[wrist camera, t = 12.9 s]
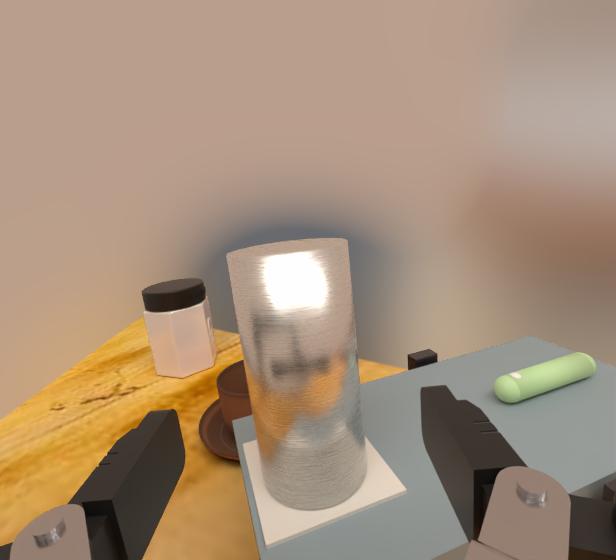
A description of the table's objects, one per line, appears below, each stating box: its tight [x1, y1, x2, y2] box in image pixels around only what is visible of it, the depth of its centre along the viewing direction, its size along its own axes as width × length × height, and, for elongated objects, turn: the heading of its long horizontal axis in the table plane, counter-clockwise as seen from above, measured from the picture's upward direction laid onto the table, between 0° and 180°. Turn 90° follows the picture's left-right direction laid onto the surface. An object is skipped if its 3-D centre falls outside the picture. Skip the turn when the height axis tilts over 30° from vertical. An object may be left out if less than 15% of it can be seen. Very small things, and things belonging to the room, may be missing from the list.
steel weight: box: [227, 238, 367, 510], centre depth 16 cm, size 5×5×11 cm
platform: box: [232, 336, 616, 560], centre depth 21 cm, size 25×12×7 cm, turn 109°
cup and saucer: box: [199, 360, 252, 460], centre depth 34 cm, size 12×12×6 cm
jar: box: [142, 278, 217, 378], centre depth 50 cm, size 9×8×12 cm
